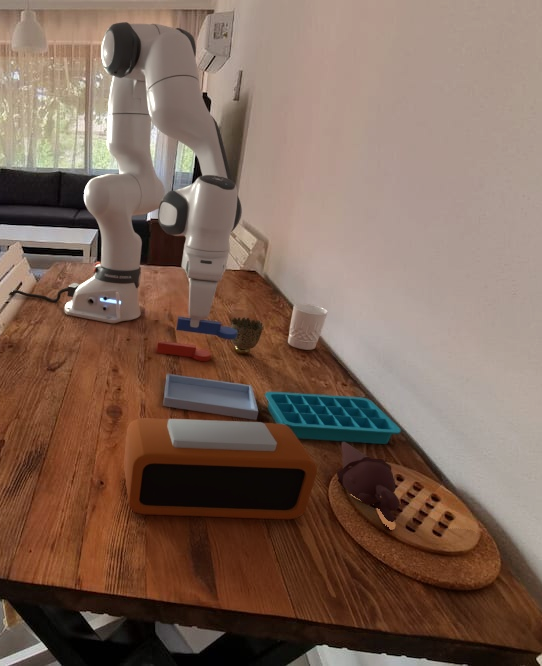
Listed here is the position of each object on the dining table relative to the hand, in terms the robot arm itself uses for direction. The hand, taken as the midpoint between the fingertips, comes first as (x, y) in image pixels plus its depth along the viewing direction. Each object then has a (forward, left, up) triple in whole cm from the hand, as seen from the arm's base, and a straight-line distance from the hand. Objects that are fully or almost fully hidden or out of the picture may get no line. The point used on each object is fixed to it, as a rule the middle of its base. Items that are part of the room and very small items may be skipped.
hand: (193, 323), depth 98 cm
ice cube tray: (+25, -15, -11) cm, 32 cm away
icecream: (+25, -34, -11) cm, 44 cm away
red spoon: (-1, +8, -11) cm, 14 cm away
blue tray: (+4, -12, -11) cm, 17 cm away
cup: (+13, +14, -11) cm, 22 cm away
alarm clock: (+3, -40, -11) cm, 42 cm away
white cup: (+29, +24, -11) cm, 39 cm away
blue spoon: (+3, 0, -2) cm, 3 cm away
